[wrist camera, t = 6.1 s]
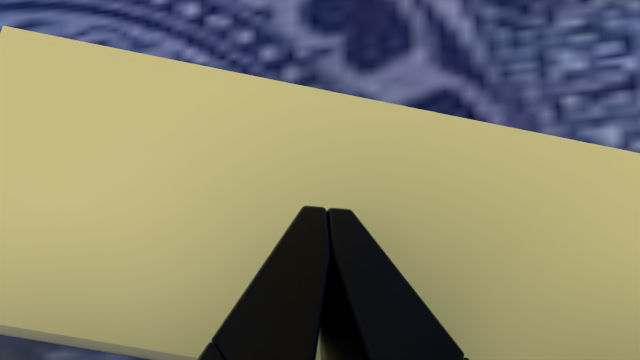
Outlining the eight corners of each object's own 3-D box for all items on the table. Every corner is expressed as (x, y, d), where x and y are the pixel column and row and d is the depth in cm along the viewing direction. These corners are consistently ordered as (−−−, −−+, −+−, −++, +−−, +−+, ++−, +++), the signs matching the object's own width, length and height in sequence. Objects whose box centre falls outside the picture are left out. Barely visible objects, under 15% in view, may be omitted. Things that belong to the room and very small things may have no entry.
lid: (642, 439, 12) (682, 455, 11) (-78, 318, 11) (-121, 321, 10) (642, 172, 14) (676, 161, 13) (21, 48, 13) (-5, 24, 12)
